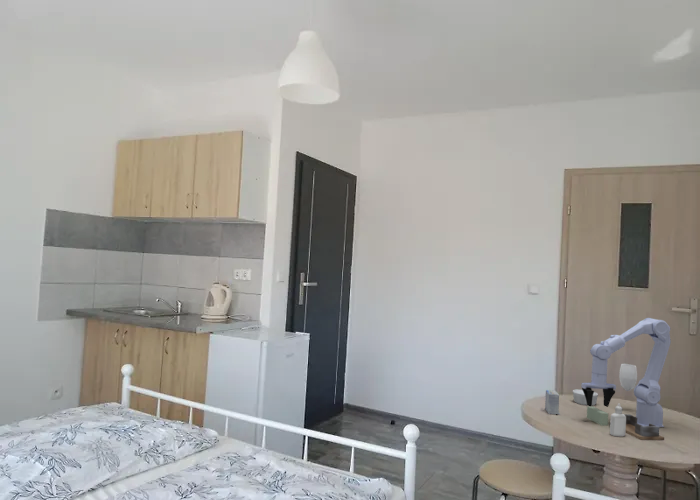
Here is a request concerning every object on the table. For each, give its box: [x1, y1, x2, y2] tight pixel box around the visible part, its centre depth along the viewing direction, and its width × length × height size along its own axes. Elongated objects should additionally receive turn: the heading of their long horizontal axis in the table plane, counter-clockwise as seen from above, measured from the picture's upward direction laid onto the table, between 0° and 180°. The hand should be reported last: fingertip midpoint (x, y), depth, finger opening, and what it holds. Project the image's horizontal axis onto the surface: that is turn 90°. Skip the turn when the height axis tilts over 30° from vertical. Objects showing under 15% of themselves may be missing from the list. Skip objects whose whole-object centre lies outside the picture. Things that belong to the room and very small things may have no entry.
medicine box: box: [544, 389, 560, 415], centre depth 229 cm, size 8×4×9 cm, turn 168°
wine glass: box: [618, 363, 638, 392], centre depth 239 cm, size 7×7×21 cm
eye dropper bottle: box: [609, 403, 627, 437], centre depth 201 cm, size 4×6×12 cm
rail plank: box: [586, 405, 609, 426], centre depth 218 cm, size 3×10×5 cm, turn 8°
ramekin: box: [572, 388, 599, 407], centre depth 249 cm, size 11×11×5 cm
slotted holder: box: [623, 413, 665, 441], centre depth 206 cm, size 10×18×4 cm, turn 8°
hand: (597, 406), depth 218 cm, fingers open, 7 cm apart
